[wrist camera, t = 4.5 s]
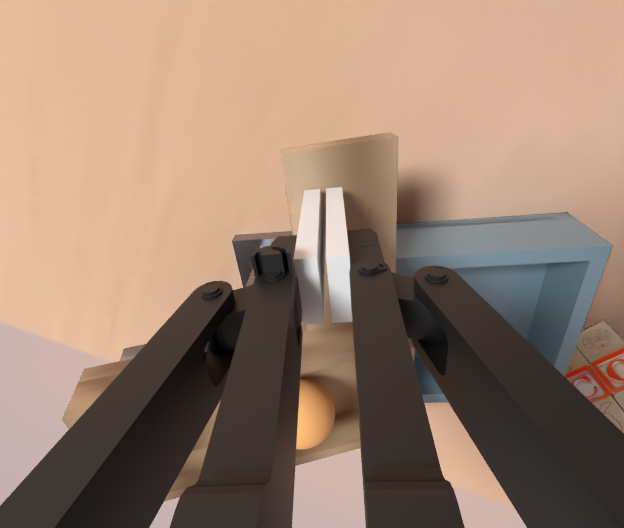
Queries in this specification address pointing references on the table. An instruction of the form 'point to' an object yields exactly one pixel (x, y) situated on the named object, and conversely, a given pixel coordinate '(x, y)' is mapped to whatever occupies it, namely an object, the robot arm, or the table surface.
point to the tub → (514, 275)
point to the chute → (328, 336)
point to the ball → (313, 414)
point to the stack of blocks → (600, 370)
